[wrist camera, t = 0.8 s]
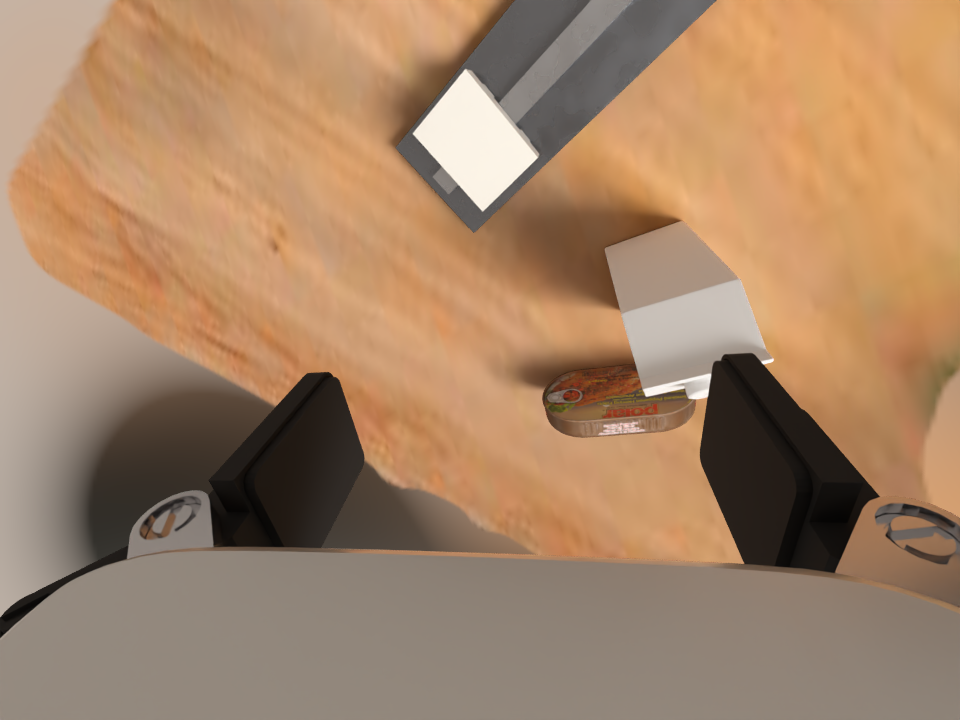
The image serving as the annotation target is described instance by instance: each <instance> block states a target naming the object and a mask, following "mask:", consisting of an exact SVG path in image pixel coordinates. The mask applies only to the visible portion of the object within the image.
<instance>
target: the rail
mask: <svg viewBox="0 0 960 720" xmlns="http://www.w3.org/2000/svg"><path fill="white" fill-rule="evenodd" d="M715 1H716V0H515V1H514V2H513V3H512V5H511V6H510V7H509V8H508V9H507V11H506V12H505V13H504V14H503V16H502V17H501V18H500V19H499V21H498V22H497V23H496V24H495V26H494V27H493V28H492V29H491V30H490V32H489V33H488V34H487V35H486V37H485V38H484V39H483V40H482V42H481V43H480V44H479V45H478V47H477V48H476V49H475V50H474V51H473V53H472V54H471V55H470V56H469V58H468V59H467V60H466V61H465V63H464V64H463V65H462V66H461V68H460V69H459V70H458V71H457V72H456V74H455V75H454V76H453V77H452V79H451V80H450V81H449V82H448V84H447V85H446V86H445V87H444V89H443V90H442V91H441V92H440V93H439V95H438V96H437V97H436V98H435V100H434V101H433V102H432V103H431V105H430V106H429V107H428V108H427V110H426V111H425V112H424V113H423V114H422V116H421V117H420V118H419V119H418V121H417V122H416V123H415V124H414V126H413V127H412V128H411V129H410V131H409V132H408V133H407V134H406V135H405V137H404V138H403V139H402V140H401V142H400V143H399V144H398V145H397V147H396V149H397V150H398V151H399V152H400V153H401V154H402V155H403V157H404V158H405V159H406V160H407V161H408V162H409V163H410V164H411V165H412V166H413V167H414V168H415V170H416V171H417V172H418V173H419V174H420V175H421V176H422V177H423V178H424V179H425V180H426V182H427V183H428V184H429V185H430V186H431V187H432V188H433V189H434V190H435V191H436V192H437V193H438V195H439V196H440V197H441V198H442V199H443V200H444V201H445V202H446V203H447V204H448V205H449V207H450V208H451V209H452V210H453V211H454V212H455V213H456V214H457V215H458V216H459V217H460V218H461V220H462V221H463V222H464V223H465V224H466V225H467V226H468V227H469V228H470V229H471V230H472V232H473V233H474V232H475V231H476V230H478V229H479V228H480V227H481V226H482V225H483V224H484V223H485V222H486V221H487V220H488V219H489V218H490V217H491V216H492V215H493V214H494V213H495V212H496V211H497V210H498V209H499V208H500V207H502V206H503V205H504V204H505V203H506V202H507V201H508V200H509V199H510V198H511V197H512V196H513V195H514V194H515V193H516V192H517V191H518V190H519V189H520V188H521V187H522V186H523V185H524V184H525V183H527V182H528V181H529V180H530V179H531V178H532V177H533V176H534V175H535V174H536V173H537V172H538V171H539V170H540V169H541V168H542V167H543V166H544V165H545V164H546V163H547V162H548V161H549V160H551V159H552V158H553V157H554V156H555V155H556V154H557V153H558V152H559V151H560V150H561V149H562V148H563V147H564V146H565V145H566V144H567V143H568V142H569V141H570V140H571V139H572V138H573V137H575V136H576V135H577V134H578V133H579V132H580V131H581V130H582V129H583V128H584V127H585V126H586V125H587V124H588V123H589V122H590V121H591V120H592V119H593V118H594V117H595V116H596V115H597V114H598V113H600V112H601V111H602V110H603V109H604V108H605V107H606V106H607V105H608V104H609V103H610V102H611V101H612V100H613V99H614V98H615V97H616V96H617V95H618V94H619V93H620V92H621V91H622V90H624V89H625V88H626V87H627V86H628V85H629V84H630V83H631V82H632V81H633V80H634V79H635V78H636V77H637V76H638V75H639V74H640V73H641V72H642V71H643V70H644V69H645V68H646V67H648V66H649V65H650V64H651V63H652V62H653V61H654V60H655V59H656V58H657V57H658V56H659V55H660V54H661V53H662V52H663V51H664V50H665V49H666V48H667V47H668V46H669V45H670V44H671V43H673V42H674V41H675V40H676V39H677V38H678V37H679V36H680V35H681V34H682V33H683V32H684V31H685V30H686V29H687V28H688V27H689V26H690V25H691V24H692V23H693V22H694V21H695V20H697V19H698V18H699V17H700V16H701V15H702V14H703V13H704V12H705V11H706V10H707V9H708V8H709V7H710V6H711V5H712V4H713V3H714V2H715ZM465 69H468V70H471V71H472V72H473V73H474V74H475V75H476V76H477V78H478V79H479V80H480V81H481V83H482V84H485V85H486V87H487V88H488V89H489V90H490V92H491V93H492V94H493V95H494V99H495V100H496V101H497V102H498V104H499V105H500V106H501V107H502V108H503V110H504V111H505V112H506V113H507V115H508V116H509V117H510V118H511V120H512V121H513V122H514V123H515V125H516V126H517V127H518V128H519V129H520V130H522V131H523V132H524V134H525V135H526V136H527V137H528V138H529V140H530V141H531V142H530V143H531V144H532V145H533V147H534V148H535V149H536V150H537V152H538V153H539V157H538V158H537V159H536V160H535V161H534V162H533V163H532V164H531V165H530V166H529V167H528V168H527V169H526V170H525V171H524V172H523V173H522V174H521V175H520V176H519V177H518V178H517V179H516V180H515V181H514V182H513V183H512V184H511V185H510V186H509V187H508V188H506V189H505V190H504V191H503V192H502V193H501V194H500V195H499V196H498V197H497V198H496V199H495V200H494V201H493V202H492V203H491V204H490V205H489V206H488V207H487V208H486V209H485V210H484V211H483V212H482V210H481V209H480V208H479V207H478V206H477V205H476V204H475V203H474V202H473V200H472V199H471V198H470V197H469V196H468V195H467V194H466V193H465V192H464V190H463V189H462V188H461V187H460V186H459V185H458V184H457V183H456V182H455V180H454V179H453V178H452V177H451V176H450V175H449V174H448V173H447V171H446V170H445V169H444V168H443V167H442V166H441V165H440V164H439V163H438V161H437V160H436V159H435V158H434V157H433V156H432V155H431V154H430V153H429V151H428V150H427V149H426V148H425V147H424V146H423V145H422V144H421V142H420V141H419V140H418V139H417V138H416V137H415V136H414V135H413V133H414V131H415V130H416V129H417V128H418V126H419V125H420V124H421V123H422V121H423V120H424V119H425V118H426V117H427V115H428V114H429V113H430V112H431V110H432V109H433V108H434V107H435V106H436V104H437V103H438V102H439V101H440V99H441V98H442V97H443V96H444V95H445V93H446V92H447V91H448V90H449V88H450V87H451V86H452V85H453V84H454V82H455V81H456V80H457V79H458V77H459V76H460V75H461V74H462V73H463V71H464V70H465Z"/></svg>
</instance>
